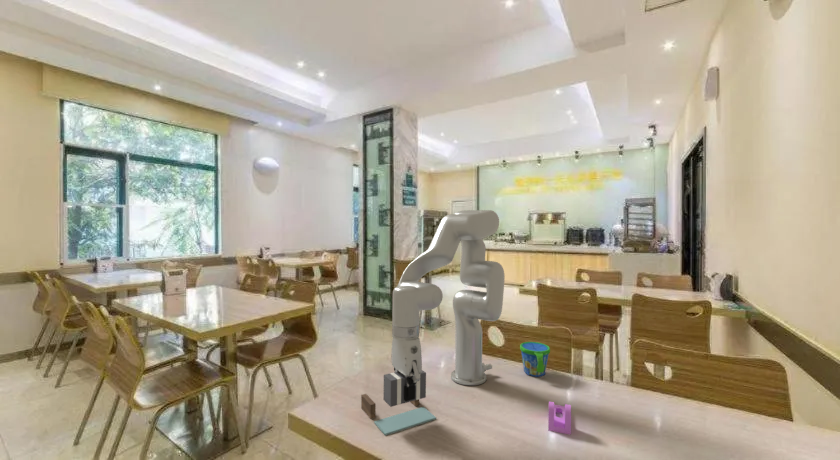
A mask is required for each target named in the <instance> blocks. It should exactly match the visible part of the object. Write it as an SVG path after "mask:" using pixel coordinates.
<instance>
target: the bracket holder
mask: <svg viewBox="0 0 840 460" xmlns="http://www.w3.org/2000/svg"><path fill="white" fill-rule="evenodd" d="M360 396H361V398H360V400H361V409H362V411H363V412H364V413H365V414H366V415H367V416H368V418H369V419H370V420H372V419H375V418H376V409H377V408H376V402H375V401H374V400H373V399H372V398H371V397H370V395H368V394H367V393H364V394H361V395H360ZM410 403H411V404H412V405H413V406H414V407H416V406H419V405H420V399H419V400H414V401H411V402H410Z"/></svg>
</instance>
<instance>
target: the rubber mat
mask: <svg viewBox="0 0 840 460" xmlns="http://www.w3.org/2000/svg"><path fill="white" fill-rule="evenodd" d="M435 420H437V417H436V415H434V414H433V413H432V412H430V410H428V409H427V408H426V407H424V406H422V407H417V408H415V409H414V408H413V409H411V410H407V411H405V412H404V411H403V412H401V413H397V414H394V415H391V416H390V415H389V416H387V417H384V418H380V419H376V420H374V421H373V422H374V423H373V424H374V425H375V426H376V427H377V428H378V429H379V430H380V432H381V433H382V435H384V436H388V435H391V434H394V433H397V432H401V431H404V430H406V429H410V428H413V427H416V426H418V425H419V426H420V425H423V424H426V423H428V422H432V421H435Z"/></svg>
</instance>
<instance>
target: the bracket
mask: <svg viewBox="0 0 840 460" xmlns="http://www.w3.org/2000/svg"><path fill="white" fill-rule="evenodd" d="M556 413H560V414H562V417H561V416H560V417H559V416H557V414H556ZM547 419H548V423H547V424H548V426H547V427H548V428H547V429H548V431H550V432H554V433H560V434H566V435H571V433H572V430H571V429H572V427H571V426H572V405H571V404H567V403H566V404H564V405H560V404H555V402H554V401H548V418H547Z"/></svg>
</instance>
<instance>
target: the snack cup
mask: <svg viewBox="0 0 840 460" xmlns="http://www.w3.org/2000/svg"><path fill="white" fill-rule="evenodd" d="M519 349H520V351H521V361H522V367H523V371H524V373H525V374H526V375H527V376H531V377H536V378H537V377H543V376H545V375H546V371H547V364H548V358H549V354H550V352H551V348H550V346H549V345H548V344H545V343H542V342H536V341H525V342H522V343H520V344H519Z"/></svg>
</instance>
